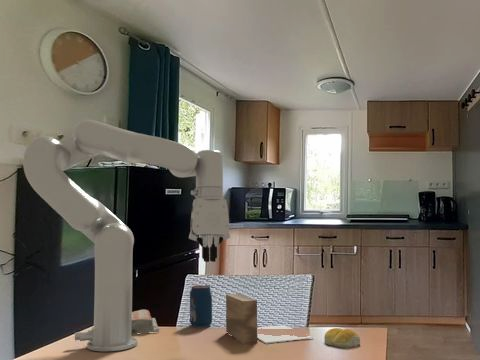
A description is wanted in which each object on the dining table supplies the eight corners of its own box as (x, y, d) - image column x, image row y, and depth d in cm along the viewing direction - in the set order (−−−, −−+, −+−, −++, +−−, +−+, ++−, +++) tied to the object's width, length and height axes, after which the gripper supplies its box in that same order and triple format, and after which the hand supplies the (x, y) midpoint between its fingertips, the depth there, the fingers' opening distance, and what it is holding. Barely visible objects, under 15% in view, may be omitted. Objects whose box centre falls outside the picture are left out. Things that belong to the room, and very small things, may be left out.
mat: (265, 343, 119) (265, 342, 119) (241, 330, 136) (241, 328, 136) (313, 339, 124) (313, 337, 124) (284, 326, 141) (284, 325, 141)
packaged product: (159, 317, 134) (124, 319, 131) (159, 334, 133) (124, 337, 131) (155, 307, 151) (124, 309, 148) (155, 322, 150) (123, 324, 148)
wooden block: (243, 344, 119) (242, 301, 120) (226, 333, 132) (226, 294, 133) (257, 343, 120) (256, 300, 122) (239, 332, 133) (238, 293, 135)
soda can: (214, 323, 145) (214, 285, 147) (208, 328, 139) (208, 288, 140) (194, 323, 147) (194, 285, 148) (186, 327, 140) (186, 287, 142)
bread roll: (336, 338, 125) (336, 323, 125) (364, 344, 118) (364, 328, 119) (317, 343, 120) (316, 328, 120) (345, 350, 113) (344, 333, 113)
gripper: (185, 193, 121) (185, 263, 119) (240, 194, 127) (240, 261, 125) (179, 195, 128) (178, 261, 126) (231, 196, 134) (231, 259, 132)
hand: (209, 261), depth 126 cm, fingers closed
